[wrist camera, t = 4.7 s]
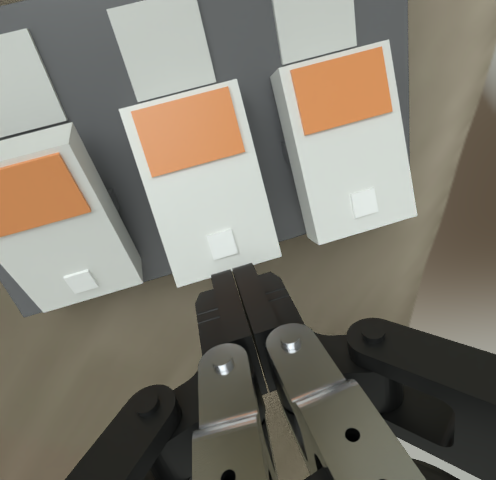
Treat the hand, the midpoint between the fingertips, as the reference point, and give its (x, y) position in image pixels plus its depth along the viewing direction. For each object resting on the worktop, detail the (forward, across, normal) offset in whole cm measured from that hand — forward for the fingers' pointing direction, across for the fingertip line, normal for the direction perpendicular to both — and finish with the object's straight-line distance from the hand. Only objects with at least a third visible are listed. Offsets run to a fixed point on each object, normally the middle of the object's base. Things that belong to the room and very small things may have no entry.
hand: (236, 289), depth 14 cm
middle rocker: (+4, 0, -3) cm, 5 cm away
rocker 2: (+4, -6, -3) cm, 8 cm away
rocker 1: (+4, +6, -3) cm, 8 cm away
